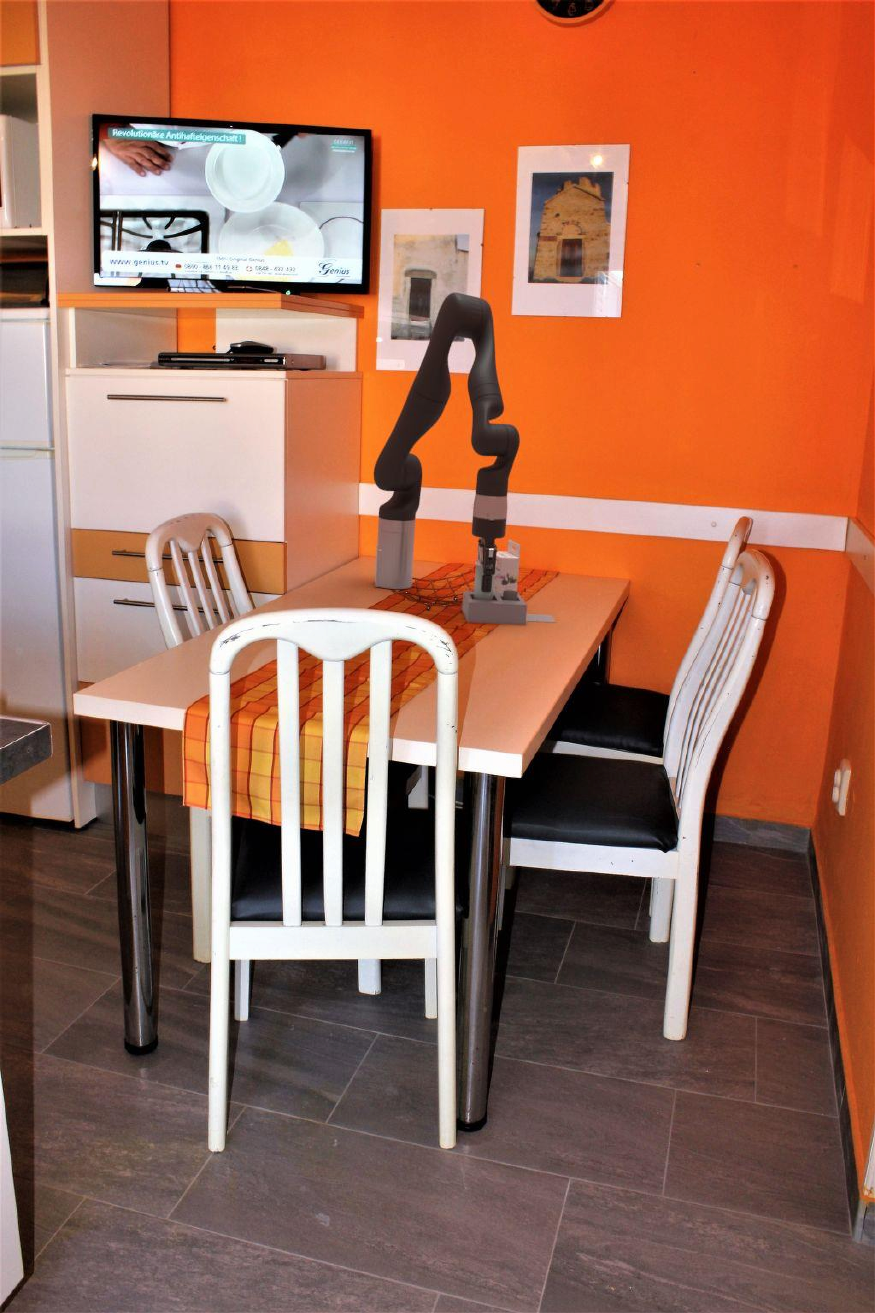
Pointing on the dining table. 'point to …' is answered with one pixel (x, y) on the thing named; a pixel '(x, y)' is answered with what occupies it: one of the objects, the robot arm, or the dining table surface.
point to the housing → (494, 609)
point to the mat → (539, 618)
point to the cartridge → (478, 581)
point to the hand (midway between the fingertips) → (484, 588)
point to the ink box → (507, 569)
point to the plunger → (510, 595)
